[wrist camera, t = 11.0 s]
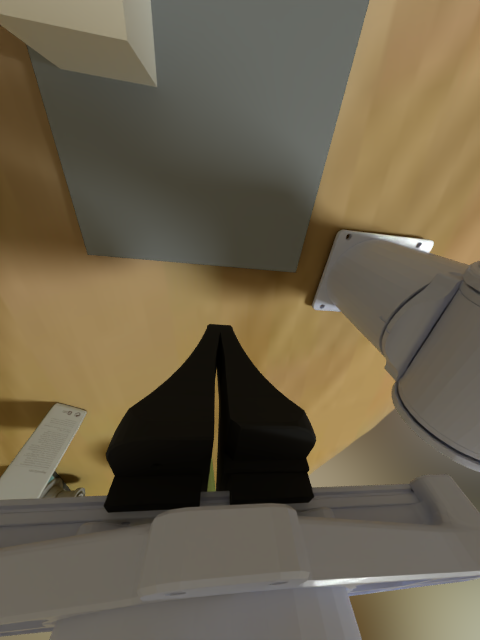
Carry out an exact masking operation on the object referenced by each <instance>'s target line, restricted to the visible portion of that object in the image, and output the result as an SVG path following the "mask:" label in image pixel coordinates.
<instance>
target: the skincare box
mask: <svg viewBox="0 0 480 640" xmlns="http://www.w3.org/2000/svg"><path fill="white" fill-rule="evenodd" d="M86 413H87V412H86V411H84V410H82V409H79V408H76V407H72V406H68V405H64V404H60V403H56V404H54V405H53V407H52V408H51V409H50V411H49V412H48V413H47V415H46V416H45V417H44V419H43V420H42V422H41V423H40V424H39V426H38V427H37V428H36V430H35V431H34V433H33V434H32V435H31V437H30V438H29V439H28V441H27V442H26V443H25V445H24V446H23V447H22V449H21V450H20V451H19V453H18V454H17V455H16V457H15V458H14V460H13V461H12V462H11V464H10V465H9V466H8V468H7V469H6V470H5V472H4V473H3V475H2V476H1V477H0V500H9V499H34V498H39V497H40V496H41V494H42V492H43V490H44V489H45V487H46V485H47V483H48V481H49V480H50V478H51V476H52V474H53V473H54V471H55V469H56V467H57V465H58V464H59V462H60V460H61V458H62V457H63V455H64V453H65V451H66V450H67V448H68V446H69V444H70V443H71V441H72V439H73V437H74V436H75V434H76V432H77V430H78V428H79V426H80V425H81V423H82V421H83V419H84V417H85V415H86Z"/></svg>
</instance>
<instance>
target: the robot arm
mask: <svg viewBox="0 0 480 640" xmlns="http://www.w3.org/2000/svg"><path fill="white" fill-rule="evenodd" d="M348 234H349V238H348V239H346V236H347V235H348ZM417 243H418V245H417ZM416 245H417V246H416ZM433 245H434V242H433V241H432V240H428V239H419V238H411V237H402V236H394V235H385V234H377V233H368V232H359V231H351V230H340V231H339V232H338V233H337V235H336V237H335V240H334V243H333V246H332V249H331V252H330V255H329V258H328V260H327V263H326V266H325V269H324V272H323V275H322V278H321V281H320V283H319V286H318V289H317V292H316V295H315V298H314V301H313V304H312V307H313V309H315V310H324V311H340V312H342V313H343V314H344V315H345V316H346V317H347V318H348V319H349V320H350V321H351V322H352V323H353V324H354V325H355V326H356V328H357V329H358V330H359V331H360V332H361V333H362V334H363V335H364V336H365V337H366V338H367V339H368V340H369V341H370V342H371V343H372V344H373V345H374V346H375V347H376V348H377V349H378V350H379V351H380V352H381V354H382V355H383V356H384V357H385V358H386V365H385V369H386V371H387V372H388V373H389V374H390V375H391V376H392V377H393V378H394V379H395V381H396V382H395V383H394V385H393V387H392V400H393V404H394V406H395V408H396V410H397V412H398V413H399V415H400V416H401V418H402V419H403V420H404V421H405V423H406V424H407V425H408V426H409V427H410V428H411V429H412V430H413V431H414V432H415V433H416V434H417V435H418V436H419V437H420V438H421V439H422V440H424V441H425V442H426V443H427V444H429V445H430V446H431V447H433V448H434V449H436V450H437V451H438V452H440V453H441V454H443V455H445V456H446V457H448V458H450V459H451V460H453V461H455V462H457V463H459V464H461V465H463V466H465V467H468V468H470V469H473V470H475V471H478V472H480V261H477V262H474V263H472V264H470V265H467V264H464V263H460V262H457V261H454V260H451V259H448V258H444V257H441V256H438V255H435V254H432V253H429V252H430V250H431V249H432V247H433ZM322 304H323V306H321V305H322ZM320 306H321V307H320ZM216 369H217V377H218V393H219V428H218V456H217V480H216V491H213V492H207V489H208V480H209V474H210V466H211V458H212V449H213V441H214V402H215V376H216ZM315 442H316V436H315V433H314V431H313V428H312V426H311V423H310V421H309V419H308V417H307V415H306V413H305V411H304V410H303V409H301V408H300V407H299V406H297V405H296V404H295V403H293V402H292V401H291V400H289V399H288V398H287V397H285V396H284V395H283V394H282V393H281V392H279V391H278V390H277V389H276V388H275V387H274V386H273V385H272V384H271V383H270V382H269V381H268V380H267V379H266V378H265V377H264V376H263V375H262V374H261V373H260V372H259V371H258V369H257V368H256V367H255V366H254V364H253V363H252V362H251V360H250V359H249V358H248V356H247V355H246V353H245V352H244V350H243V348H242V347H241V345H240V343H239V341H238V339H237V337H236V335H235V333H234V331H233V328H232V327H231V326H230V325H215V324H209V325H208V326H207V329H206V331H205V333H204V335H203V337H202V339H201V340H200V342H199V344H198V345H197V347H196V348H195V350H194V351H193V352H192V354H191V355H190V356H189V358H188V359H187V360H186V361H185V362H184V363H183V365H182V366H181V367H180V368H179V369H178V370H177V371H176V372H175V373H174V374H173V375H172V376H171V377H170V378H169V379H168V380H166V381H165V382H164V383H163V384H162V385H160V386H159V387H158V388H157V389H156V390H154V391H153V392H152V393H151V394H149V395H148V396H147V397H145V398H144V399H142V400H141V401H139V402H138V403H137V404H135V405H134V406H132V407H131V408H129V410H128V411H127V413H126V414H125V416H124V417H123V419H122V420H121V422H120V424H119V426H118V427H117V429H116V431H115V433H114V435H113V438H112V440H111V443H110V445H109V447H108V450H107V452H106V458H107V461H108V463H109V465H110V467H111V469H112V471H113V473H114V475H115V477H114V479H113V482H112V485H111V487H110V490H109V493H108V495H107V496H85V497H60V498H34V499H9V500H0V637H1V636H11V635H21V634H30V633H39V632H50V631H52V634H51V636H50V639H49V640H362V639H361V635H360V632H359V629H358V625H357V622H356V619H355V616H354V612H353V609H352V606H351V603H350V599H349V596H354V595H361V594H369V593H376V592H384V591H391V590H398V589H407V588H414V587H422V586H430V585H437V584H445V583H454V582H462V581H468V580H474V579H479V578H480V513H479V512H478V510H477V509H476V508H475V507H474V506H473V504H472V503H471V502H470V500H469V499H468V498H467V497H466V495H465V494H464V493H463V491H462V490H461V489H460V488H459V486H458V485H457V484H456V483H455V481H454V480H453V479H452V478H451V476H450V475H448V474H436V475H422V476H419V477H417V478H415V479H414V480H412V481H411V482H410V484H391V485H367V486H341V487H317V488H312V487H311V484H310V480H309V477H308V473H307V472H308V471H309V466H308V463H307V459H306V457H307V456H308V454H309V453H310V451H311V450H312V448H313V447H314V445H315Z"/></svg>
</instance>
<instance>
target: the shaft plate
mask: <svg viewBox="0 0 480 640" xmlns="http://www.w3.org/2000/svg"><path fill="white" fill-rule="evenodd" d="M368 4H369V0H151V11H152V24H153V37H154V51H155V64H156V77H157V87H153V86H148V85H143V84H137V83H132V82H127V81H121V80H116V79H111V78H105V77H100V76H95V75H89V74H84V73H79V72H73V71H68V70H63V69H60V68H58V67H57V66H56V65H54V64H53V63H51V62H50V61H49V60H47V59H46V58H45V57H43V56H42V55H41V54H39V53H38V52H36V51H35V50H34V49H32V48H31V47H30V46H28V45H27V44H26V45H27V48H28V52H29V55H30V59H31V62H32V66H33V69H34V72H35V76H36V79H37V83H38V86H39V89H40V93H41V96H42V100H43V103H44V107H45V110H46V113H47V117H48V120H49V124H50V127H51V130H52V134H53V137H54V141H55V144H56V148H57V151H58V154H59V158H60V161H61V165H62V168H63V171H64V175H65V178H66V182H67V185H68V189H69V192H70V195H71V199H72V202H73V206H74V209H75V213H76V216H77V219H78V223H79V226H80V230H81V233H82V236H83V240H84V243H85V247H86V250H87V254H88V255H98V256H110V257H121V258H133V259H145V260H156V261H168V262H179V263H191V264H203V265H214V266H226V267H237V268H249V269H261V270H272V271H284V272H296V269H297V266H298V262H299V258H300V254H301V251H302V247H303V243H304V240H305V236H306V232H307V229H308V225H309V221H310V218H311V214H312V210H313V206H314V203H315V199H316V195H317V192H318V188H319V184H320V181H321V177H322V173H323V170H324V166H325V162H326V159H327V155H328V151H329V147H330V144H331V140H332V136H333V133H334V129H335V125H336V122H337V118H338V114H339V111H340V107H341V103H342V100H343V96H344V92H345V88H346V85H347V81H348V77H349V74H350V70H351V66H352V63H353V59H354V55H355V52H356V48H357V44H358V40H359V37H360V33H361V29H362V26H363V22H364V18H365V15H366V11H367V7H368Z"/></svg>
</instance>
